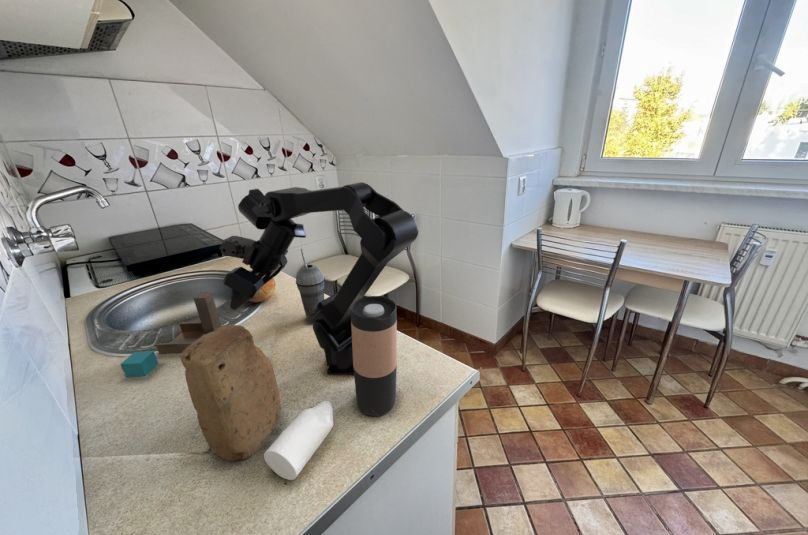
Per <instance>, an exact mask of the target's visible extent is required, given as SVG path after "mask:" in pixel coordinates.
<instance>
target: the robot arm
mask: <svg viewBox="0 0 808 535" xmlns="http://www.w3.org/2000/svg"><path fill="white" fill-rule="evenodd" d="M237 209H238V212H239V213H240V214H241V215H242V216H243V217H244V218H246V219H247V220H248V221H249V223H251V224H252V225H253V226H254V227H255V228H256V229H257V230H261V231H262V230H263V232H262V233H261V236H260V238H259V239H258V240H254V239H252V238H248V237H243V236H239V235H231V236H229V237H227V238H224V239H223V241H222V242H221V244H220V246H219V247H218V248H219V250H220V252H221V254H222V255H223V256H224V257H227V258H228V257H231V258H237V259H241V260H242V261H241V263H242V264H244V265H246V266H249V268H250V270H252V269H253V270H252V271H251V272H250V271H249V270H248V269H247V268H244V267H243V266H238V267H235V268H233V269H232V270H230V271H229V272H227V273H226V274H225V276H224V278H223V280H222V283H223V285H224V286H226V287H229V288H230V289H231V298H230V305H229V308H230V309H231V310H233V311H236V310H238V309H239V308H241V307H242V306H243V305H244V304H246V303H247V302H250V301H249V300H250V299H252V298H254V297H255V296H256V295H257V294H258V293H259V291H260V290H261V288H262V287H263V285H264V284H266V283H267V282H268V281H269V280H271V279H272V278H275V277H276V276H277V275H279V274H280V273H281V272H282V270H284V269H285V267H286V265H287V263H288V259H287V257H286V256H287V254H288V252H289V250H288V249H289V248H290V246H291V244H292V242H293V241H294V239H295V238H301V239H303V238H304V239H305V238H306V237H307V233H306V230H305V227H304V224H303V223H297V222H295V220H293V219H295V218H299V217H303V216H307V215H308V214H312V213H313V214H314V213H323V212H337V211H344V212H345V213H346V214H347V215H348V218H349V220H350V223H351V226H352V230H353V231H354V232H355V233H356V234H357V235H358V236H359V237H360V241H359V246H360V249H361V250H360V255H359V257H358V259H357V260H356V261H355V263H354V265H353V267H352V268H351V270H350V271H349V273H348V274H347V276H346V278H345V279H344V281H343V283H342V285H341V286H340V288H339V289H338V291H337V292H335V293H333V294H332V295H330V296H328V297H327V298H324V300H323V301H321V302H319V303H318V305H317V307H316V310H315V312H313V313H312V315H313V316H314V317H313V319H312V323H311V324H312V330H313V333H314V335H315V338H316V340H317V344H318V346H319V348H320V349H323V351H324V356H325V363H326V366H327V369H326V374H327V375H347V376H348V375H349V376H354V368H353V350H352V328H351V305H352V304H353V303H354V302H355V301H356V300H358V299H361V298H364V297H365V296H366V294H367V293H368V291H369V290H370V288H371V287H372V286H373V285H374V283H375V281H376V280H377V278H378V277H379V276H380V274H381V273H382V271H383V270H384V269H385V267H386V266H387V264H389V262H391V260H393V259H394V258H396V257H397V256H398V255H400V254H402V252H403V251H405V250H406V249H407V248H408V247H410V245H411V244H413V243H414V242H415V241H416V240H417V238H418V236H419V229H418V224H417V222H416V220H415V218H414V216H412V214H411V213H409V212H408V211H406V210H404V209H403V208H402V207H401V206H400V205H399V204H398V203H397V202H395V201H393V200H391V198H388V197H386V196H384V195H382V194H380V193H378V192H377V191H376V190H375V189H374V188H373V187H372V186H371V185H370V184H368V183H365V182H360V181H359V182H355V183H350V184H346V185H343V186H336V187H335V186H334V187H328V188H322V189H316V190H310V189H307V188H306V187H298V186H294V187H293V186H292V187H288V188H283V189H276V190H271V191H267V192H266V193H265V194H264V193H263V192H262V191H261V190H260V189H259V188H253V189H249V190H248V194H246V195H245V196H243V198H242V199H241V200H240V202H239V203H238V206H237ZM365 209H366V210H367V212H368V211H369V212H370V213H372V214H374V215H376V216H377V217H375V218H371V217H370V216H369V215H368V214H367V213H366V211H365Z"/></svg>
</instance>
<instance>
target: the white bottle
mask: <svg viewBox="0 0 808 535" xmlns="http://www.w3.org/2000/svg"><path fill="white" fill-rule="evenodd" d="M332 406H333V404H331V402H330V401H329V400H323V401H321V402H319V403H318V404H317V405H316V406H314V407H310V408H305V409H303V410H302V411H300V412H299V414H298V415H297V416H296V417H295V419H293V421H292V422H291V423H289V425H288V426H287V427H286V428H285V429H283V431H281V433H280V434H279V436H277V438H276V439H275V441H274V442H273V443H272V444H271V445H270V446H269V448H268V449H267V450H265V451H264V454H263V458H264V460H265V463H266V464H267V465H268V467H269V468H270V469H271V470H272V471H273V472H274V473H275V474H276V475H278V476H279V477H281V478H282V479H285V480H288V481H294V480H296V479H297V477H298V476H299V474H300V473H301V472H302V471H303V469H304V468H305V466H306V465H307V463H308V461H309V460H310V459H311V458H312V457H313V455H314V454H315V452H316V451H317V450H318V448H319V447H320V446H321V445H322V443H323V442H324V440H325V439H326V438H327V436H328V435H329V433H330V431H331V430H332V429H333V427H334V409H333V407H332Z"/></svg>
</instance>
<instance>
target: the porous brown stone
mask: <svg viewBox="0 0 808 535" xmlns="http://www.w3.org/2000/svg"><path fill="white" fill-rule="evenodd" d="M180 361H181V364H182V366H183V367H184V369H185V371H184V376H185V380H186V381H185V382H186V385H187V389H188V392H189V396H190V399H191V403H192V405H193V408H194V410H195V412H196V417H197V422H198V425H199V428H200V430H201V433H202V435H203V437H204V440H205V442H206V444H207V445H208V447H209V448H210V449H211V451H213V452H214V453H215V454H216V455H217V456H219V457H221V458H222V459H224V460H227V461H229V462H235V461H236V460H246V459H248V458H250V457H252V456H253V455H255V454H256V453H257V452H258V451H259V450H260V449H261V448H262V447H263V446H264V445H265V444H266V443H267V441H268V440H269V438H270V436H271V434H272V432H273V431H274V429H275V427H276V425H277V423H278V420H279V417H280V416H279V415H280V410H282V404H281V395H280V391H279V385H278V381H277V377H276V373H275V368H274V366H273V363H272V361H271V359H270V357H268V356H267V354H265V353H264V352H263V350H262V348H260V347H259V346H256V345H255V342H254V336H253V335H252V333H251V332H250V331H249V329H247V328H246V327H245V326H243V325H241V324H240V325H239V324H225V325H224V324H223V325H221V327H219V328H217V329H215V330H214V331H213V332H210V333H208V334H206V335H204V336H202V337H201V338H199V339H198V340H196V341H195V342H193V343H192V344H191V345H189V346H188V347H187V348H186V349H185V350H184V351H183V352H182V353H180Z"/></svg>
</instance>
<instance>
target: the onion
mask: <svg viewBox="0 0 808 535" xmlns="http://www.w3.org/2000/svg"><path fill="white" fill-rule="evenodd" d="M252 270H253V269H249V270H248V271H250V272H251V271H252ZM275 291H276V280H275V277H273V278H272V279H271V280H269V281H268V282H267V283H266V284H264V285H263V287H262V288H261V290H260V291H259V293H258V294H257V295H256V296H255V297H254V298H252V299H250V300H249V301H248V302H250V303H260V302H264V301H268V300H269V299H271V298H272V297H273V296H274V294H275Z"/></svg>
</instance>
